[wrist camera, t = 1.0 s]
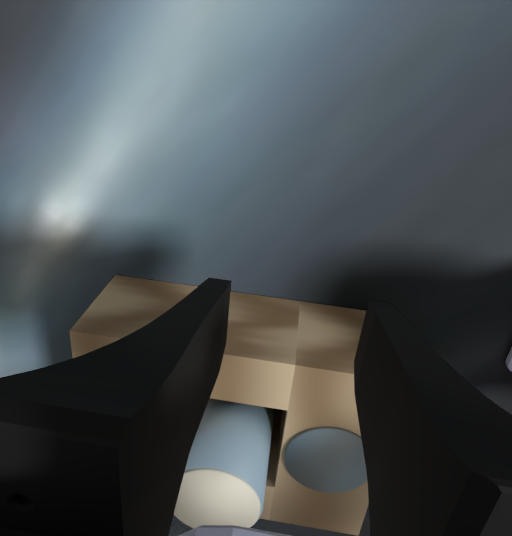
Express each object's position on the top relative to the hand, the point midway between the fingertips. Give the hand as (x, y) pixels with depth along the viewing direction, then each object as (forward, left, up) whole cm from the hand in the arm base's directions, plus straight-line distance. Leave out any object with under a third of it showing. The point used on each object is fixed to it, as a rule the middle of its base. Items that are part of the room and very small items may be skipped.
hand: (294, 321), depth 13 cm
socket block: (+2, +10, -9) cm, 14 cm away
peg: (+2, +10, -6) cm, 12 cm away
